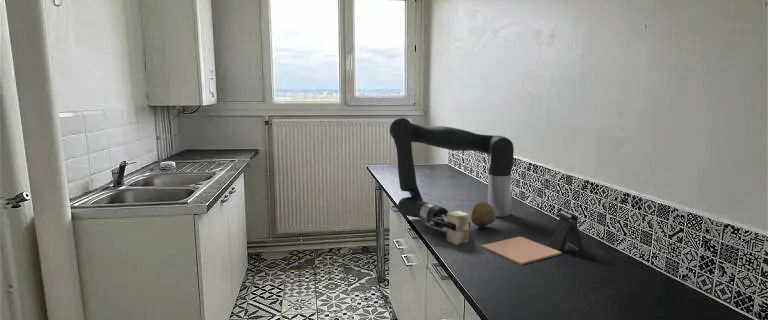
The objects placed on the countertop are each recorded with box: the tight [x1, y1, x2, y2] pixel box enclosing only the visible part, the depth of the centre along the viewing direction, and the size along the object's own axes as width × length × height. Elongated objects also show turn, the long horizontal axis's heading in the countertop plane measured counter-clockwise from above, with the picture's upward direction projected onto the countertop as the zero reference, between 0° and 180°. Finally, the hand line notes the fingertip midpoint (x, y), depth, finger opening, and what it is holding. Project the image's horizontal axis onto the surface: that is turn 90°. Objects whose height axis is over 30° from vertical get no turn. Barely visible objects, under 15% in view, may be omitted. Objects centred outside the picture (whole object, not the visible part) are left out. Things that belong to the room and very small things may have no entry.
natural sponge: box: [470, 201, 496, 228], centre depth 172 cm, size 9×9×10 cm
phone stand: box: [549, 210, 585, 253], centre depth 149 cm, size 9×6×12 cm, turn 99°
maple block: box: [446, 210, 470, 245], centre depth 157 cm, size 5×5×10 cm
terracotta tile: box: [480, 236, 563, 266], centre depth 148 cm, size 18×18×1 cm
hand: (462, 226), depth 155 cm, fingers closed on maple block, 5 cm apart
